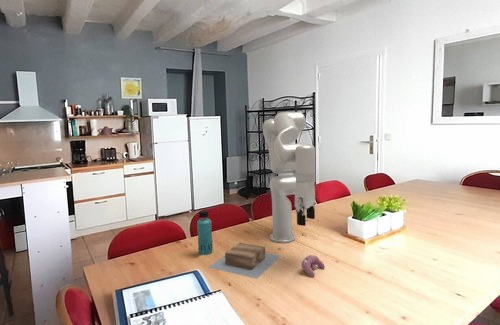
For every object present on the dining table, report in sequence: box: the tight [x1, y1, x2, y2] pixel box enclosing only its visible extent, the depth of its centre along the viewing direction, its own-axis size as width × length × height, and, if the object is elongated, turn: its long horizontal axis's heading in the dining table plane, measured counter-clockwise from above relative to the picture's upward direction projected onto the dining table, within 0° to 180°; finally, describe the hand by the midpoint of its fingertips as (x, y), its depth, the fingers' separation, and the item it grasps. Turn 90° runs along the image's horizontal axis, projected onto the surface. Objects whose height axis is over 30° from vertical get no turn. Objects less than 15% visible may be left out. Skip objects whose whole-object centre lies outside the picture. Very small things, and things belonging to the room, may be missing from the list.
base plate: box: [208, 252, 282, 279], centre depth 133 cm, size 22×22×2 cm
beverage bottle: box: [196, 210, 214, 256], centre depth 143 cm, size 6×7×20 cm
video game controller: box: [300, 254, 326, 278], centre depth 126 cm, size 10×5×7 cm, turn 141°
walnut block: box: [224, 242, 266, 270], centre depth 133 cm, size 12×12×5 cm
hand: (306, 221), depth 124 cm, fingers open, 9 cm apart
